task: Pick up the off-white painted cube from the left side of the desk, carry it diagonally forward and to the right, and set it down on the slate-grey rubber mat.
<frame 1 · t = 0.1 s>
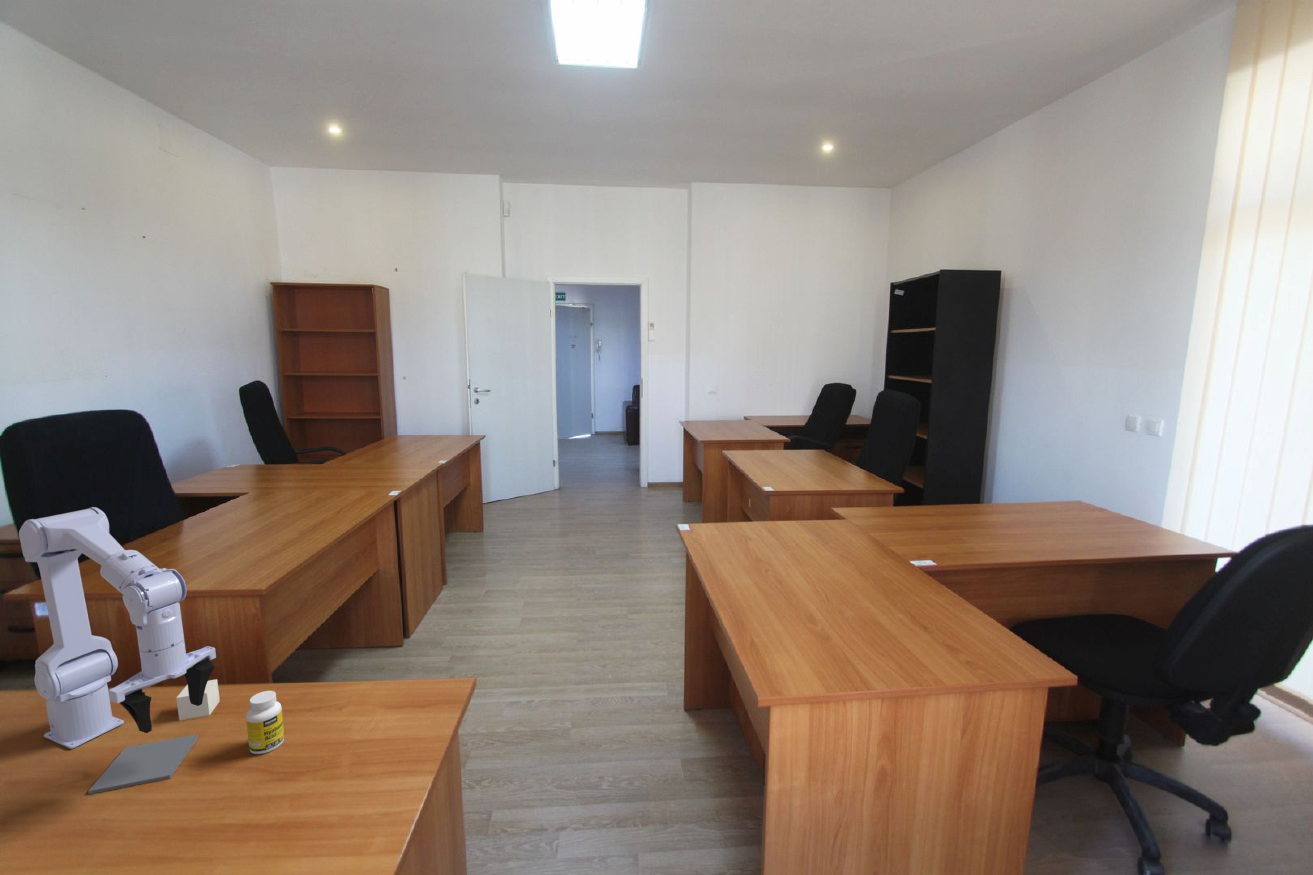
hand: (171, 716, 96), 10 cm above the table, tool pointing down, fingers open, 7 cm apart
cube: (200, 710, 114), on the table
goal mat: (147, 763, 99), on the table
supplement bottle: (267, 745, 104), on the table
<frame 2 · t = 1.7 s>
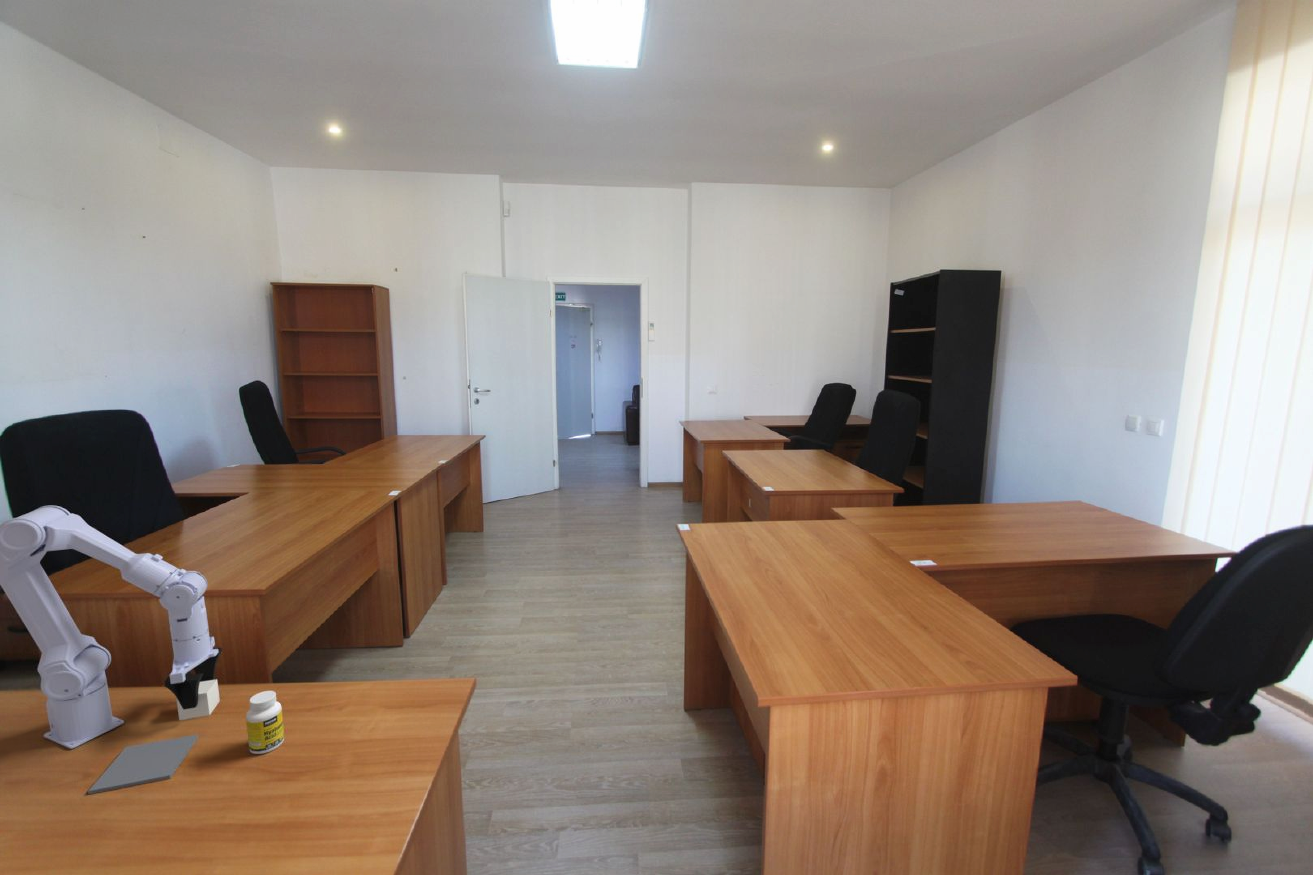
hand: (198, 696, 113), 3 cm above the table, tool pointing down, fingers open, 7 cm apart
nothing on the table moved.
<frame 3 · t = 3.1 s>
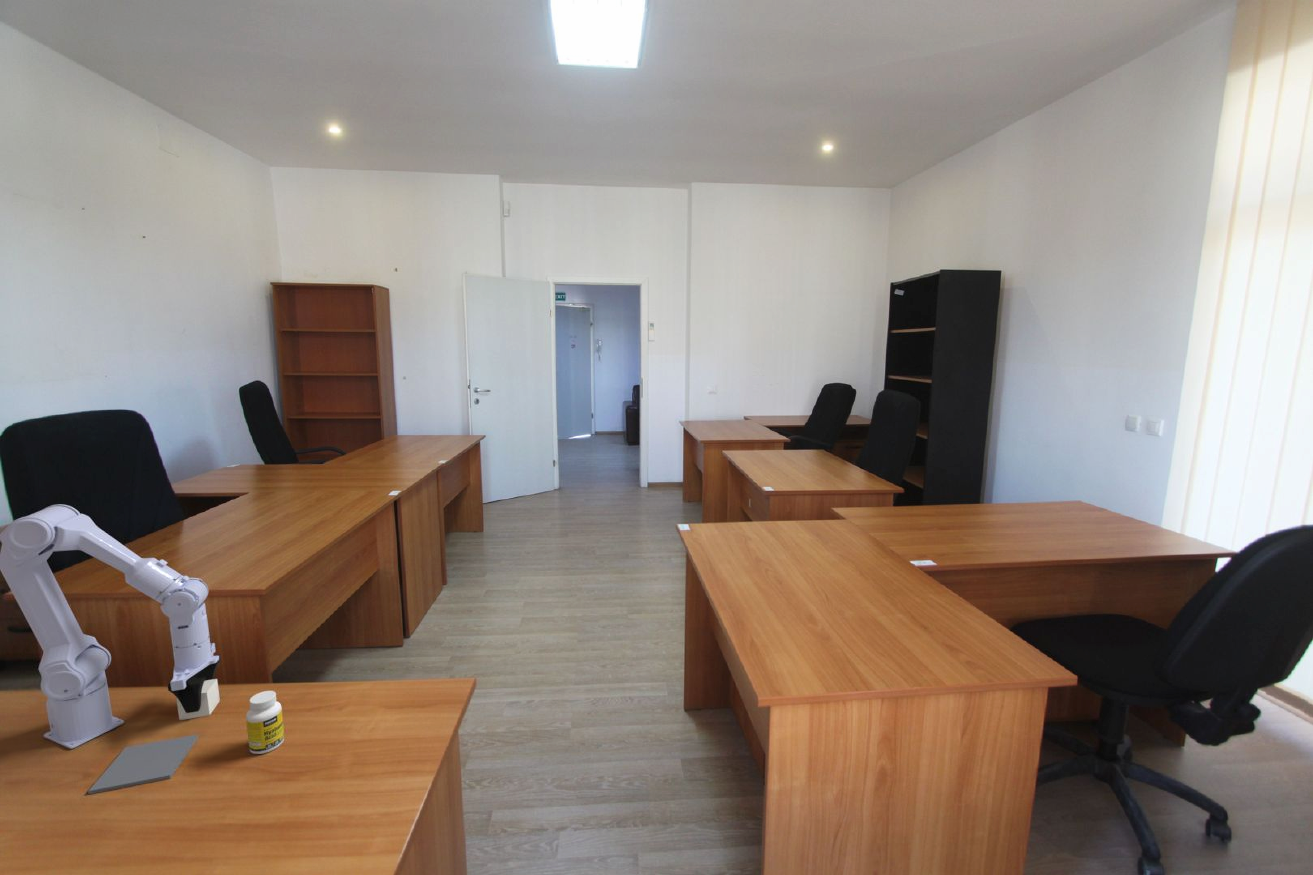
hand: (199, 702, 113), 2 cm above the table, tool pointing down, fingers closed on cube, 5 cm apart
cube: (200, 710, 114), on the table, touching gripper
everything else where it was.
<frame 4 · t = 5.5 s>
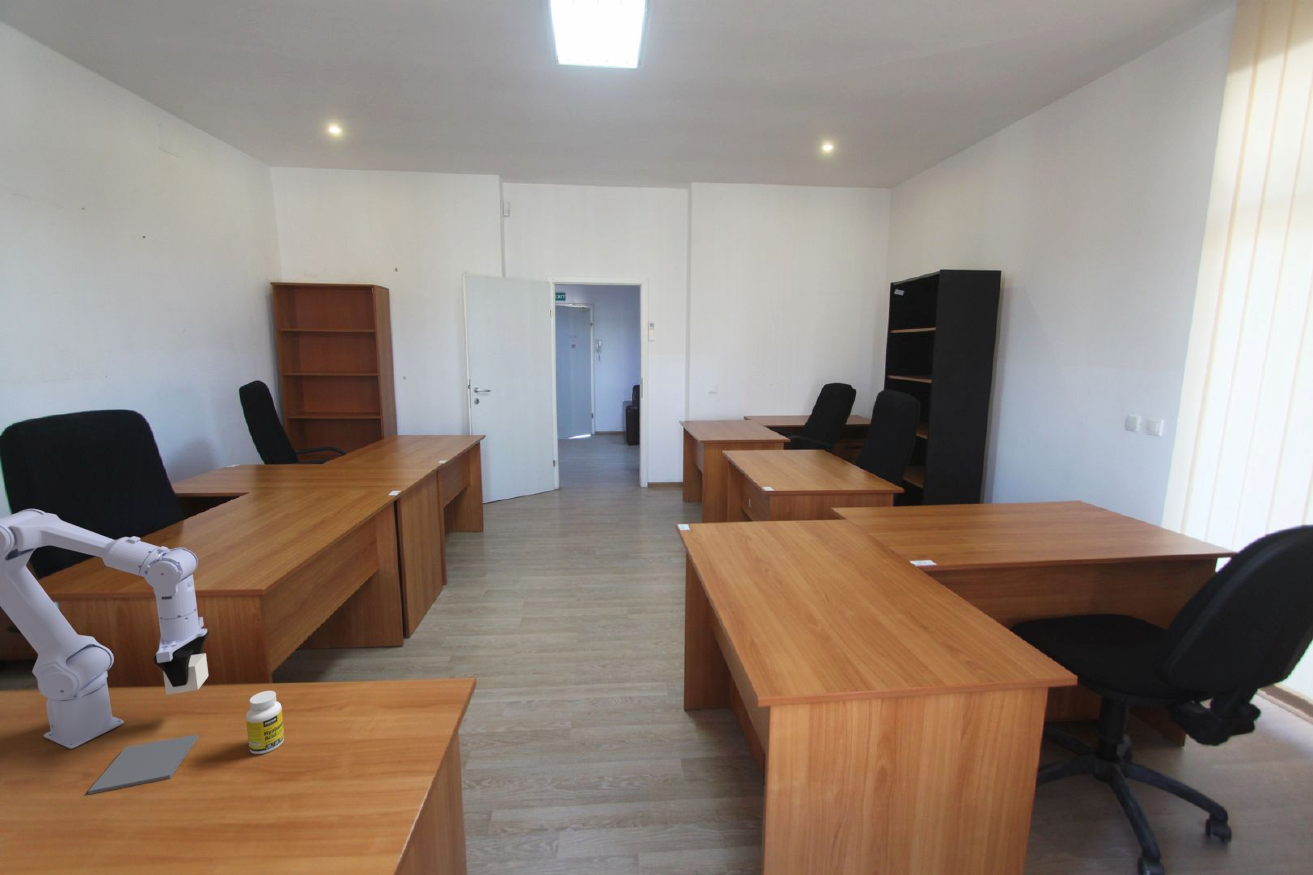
hand: (186, 677, 110), 9 cm above the table, tool pointing down, fingers closed on cube, 5 cm apart
cube: (188, 685, 110), point 7 cm above the table, touching gripper
everything else where it was.
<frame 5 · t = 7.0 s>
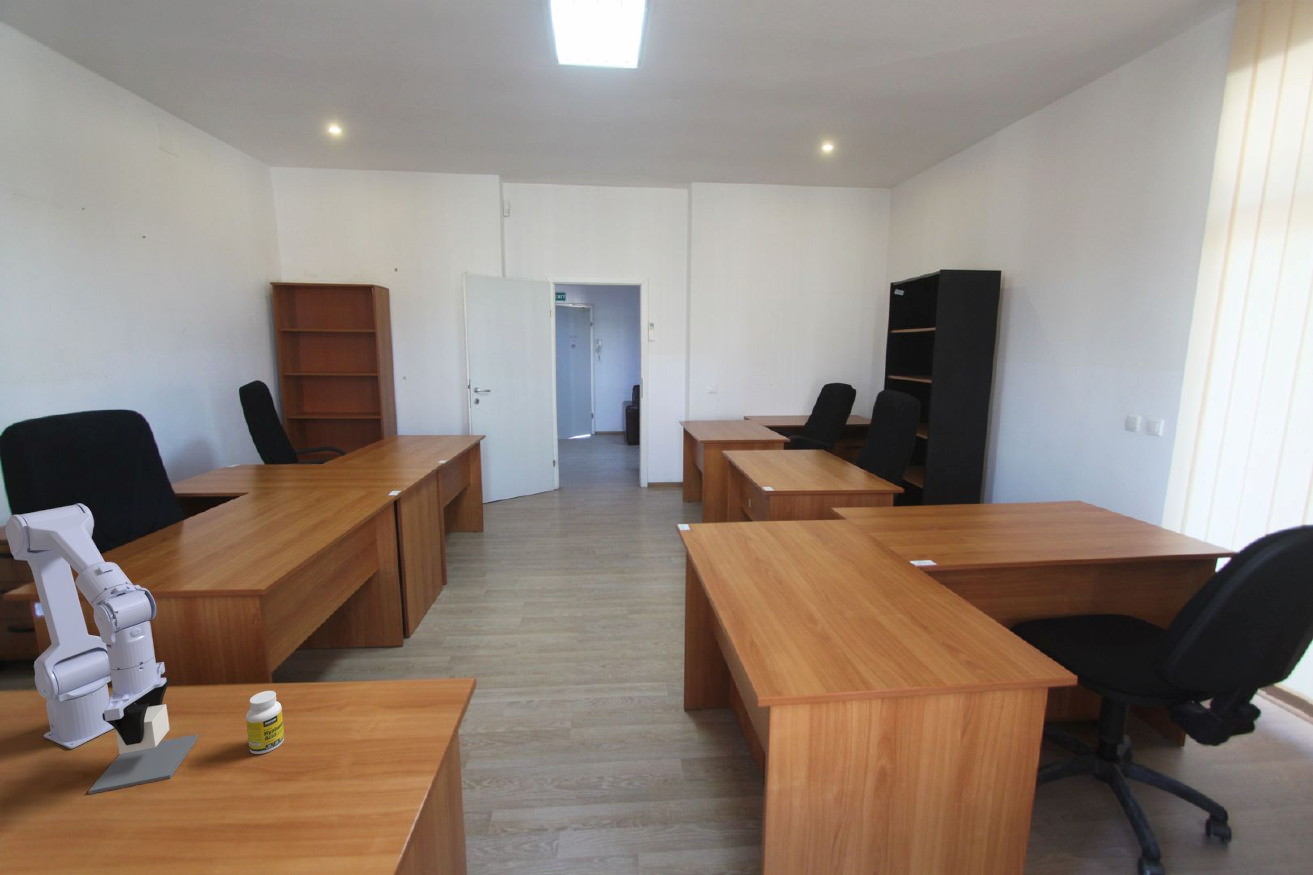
hand: (143, 732, 98), 6 cm above the table, tool pointing down, fingers closed on cube, 5 cm apart
cube: (145, 741, 98), point 4 cm above the table, touching gripper
everything else where it was.
when the fingers open (3 cm above the table, at t = 8.0 s): cube stays where it is, resting on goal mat.
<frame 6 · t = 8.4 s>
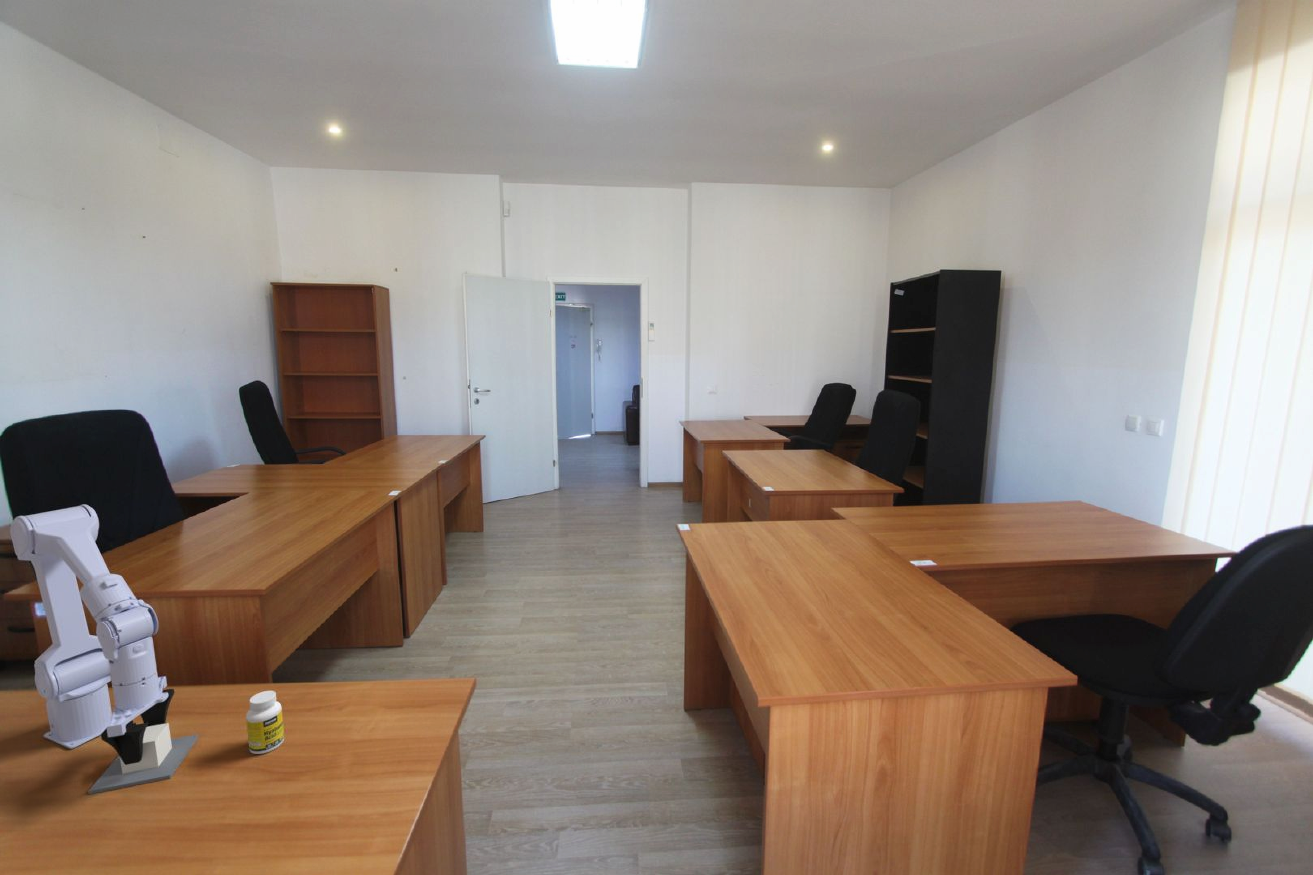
hand: (145, 747, 98), 3 cm above the table, tool pointing down, fingers open, 7 cm apart
cube: (148, 760, 99), point 1 cm above the table, touching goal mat
everything else where it was.
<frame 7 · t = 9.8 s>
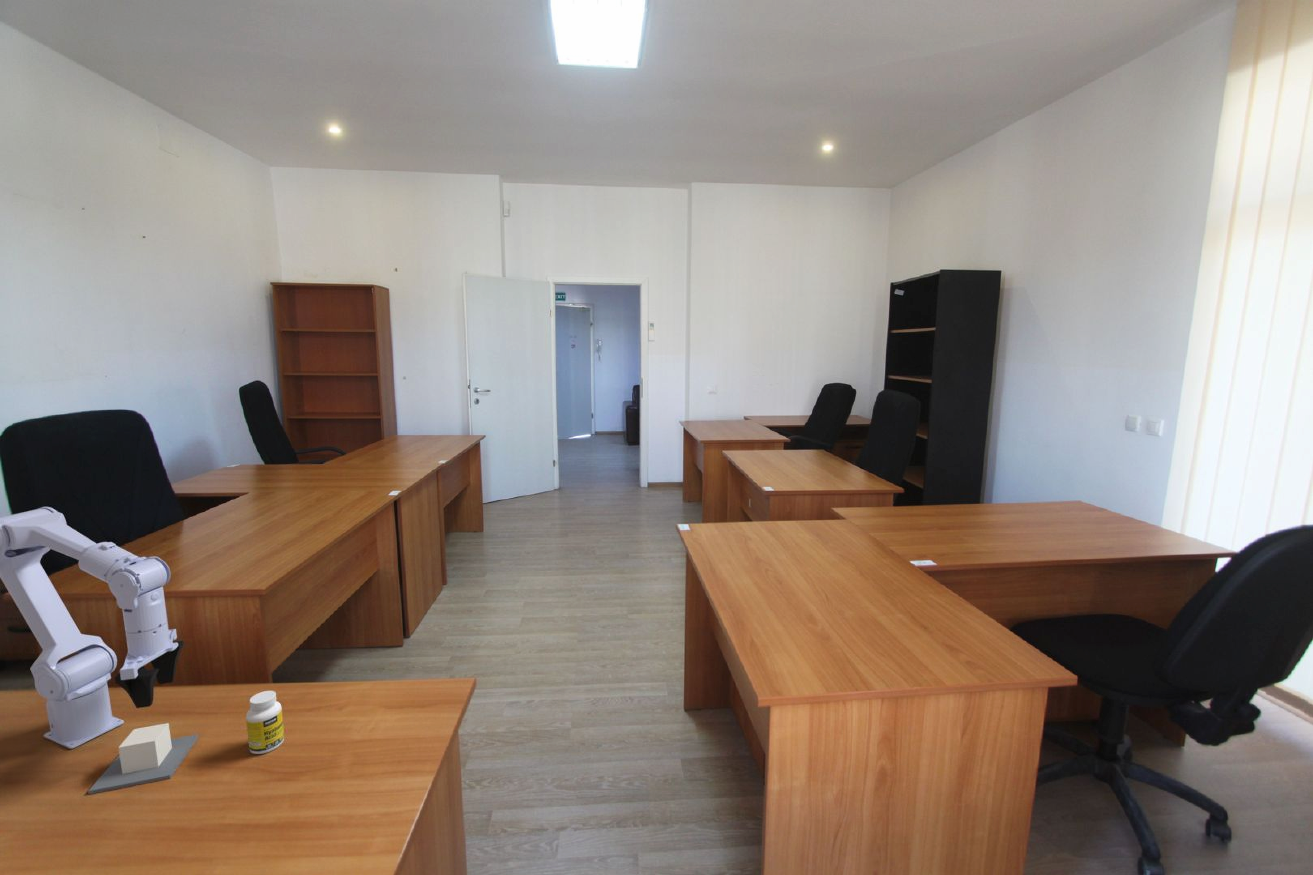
hand: (155, 693, 104), 9 cm above the table, tool pointing down, fingers open, 7 cm apart
nothing on the table moved.
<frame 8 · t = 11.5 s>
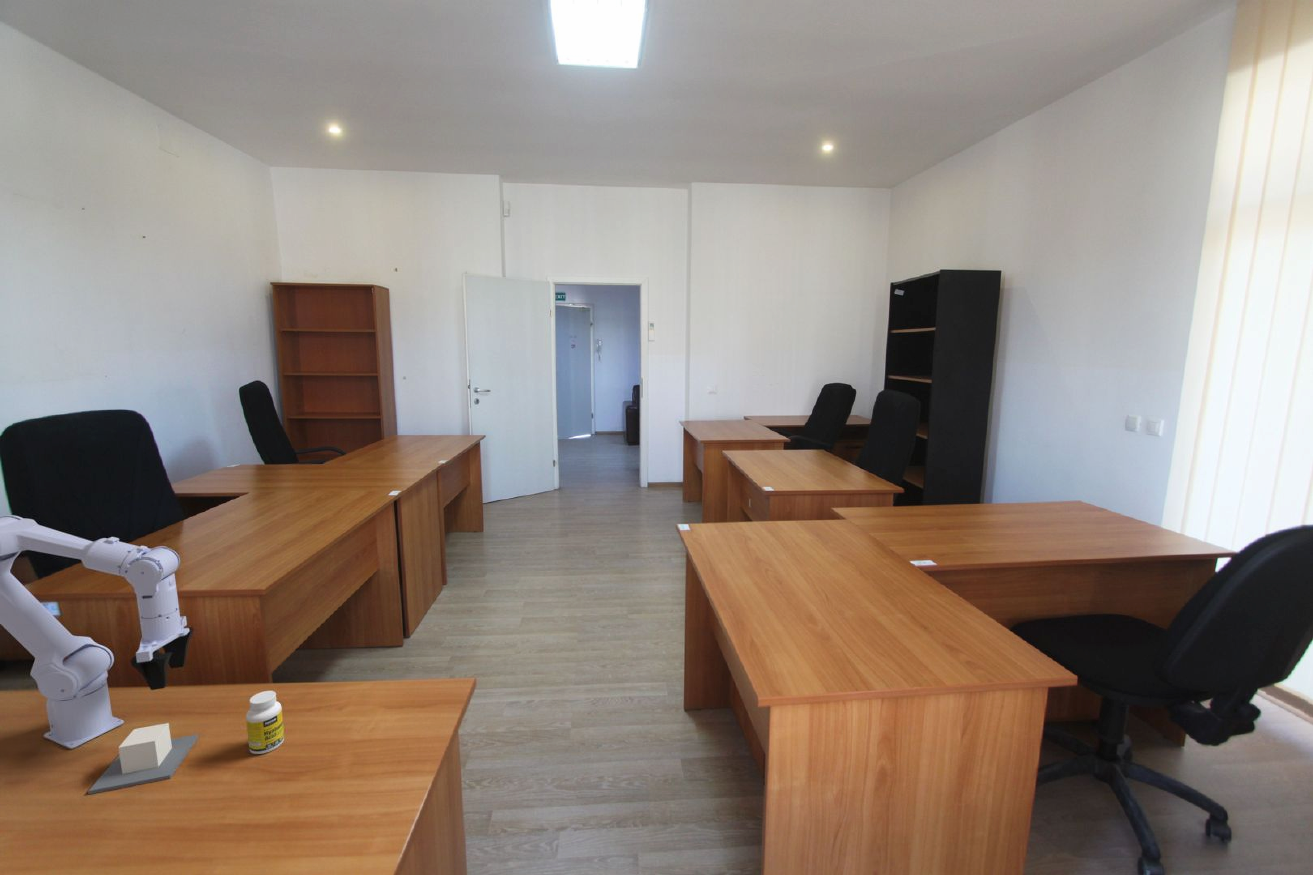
hand: (168, 677, 109), 9 cm above the table, tool pointing down, fingers open, 7 cm apart
nothing on the table moved.
at the end: cube 0.1 cm off-centre on the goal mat, point 0.6 cm above the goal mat's base; cube tilted 0°; the gripper is holding nothing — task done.
